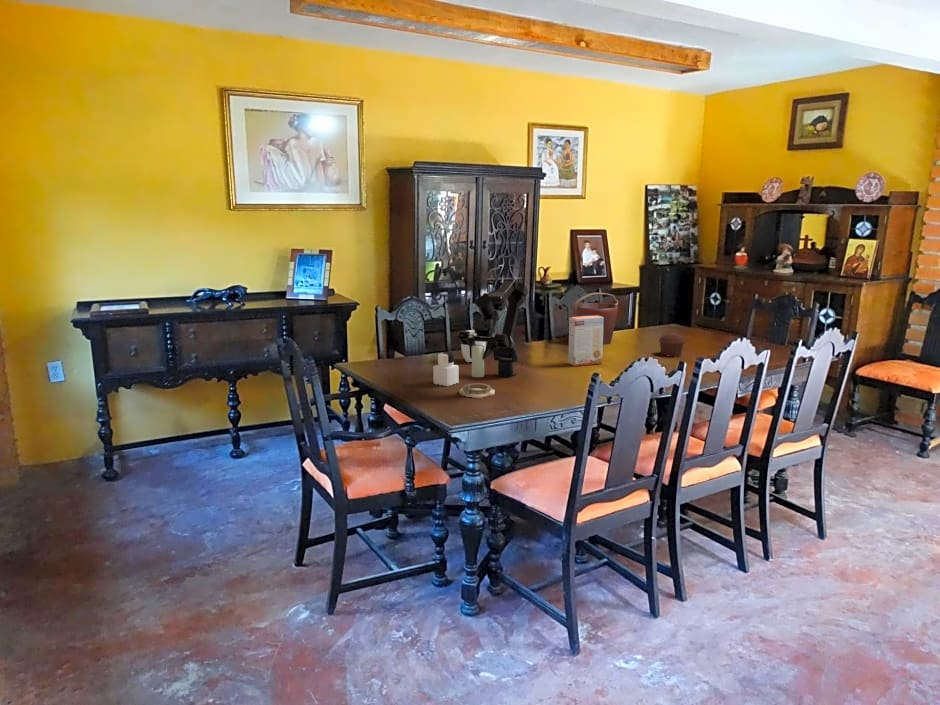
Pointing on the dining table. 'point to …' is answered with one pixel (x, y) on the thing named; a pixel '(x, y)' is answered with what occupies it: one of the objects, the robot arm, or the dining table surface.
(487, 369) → the dining table surface
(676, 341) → the muffin
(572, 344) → the cracker box
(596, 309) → the bucket
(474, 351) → the post
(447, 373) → the medicine bottle
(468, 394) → the flange plate
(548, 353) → the dining table surface
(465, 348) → the mug
